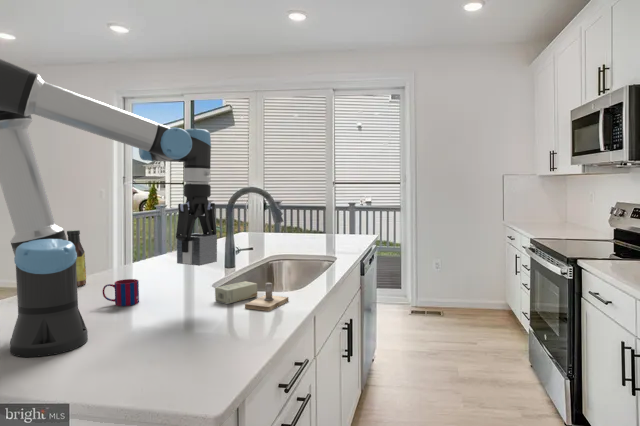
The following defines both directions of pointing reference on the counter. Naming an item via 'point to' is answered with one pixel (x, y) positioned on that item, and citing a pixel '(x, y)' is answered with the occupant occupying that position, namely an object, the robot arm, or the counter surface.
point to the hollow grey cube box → (200, 249)
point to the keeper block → (267, 300)
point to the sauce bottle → (78, 256)
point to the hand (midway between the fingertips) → (197, 261)
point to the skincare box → (235, 292)
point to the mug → (125, 292)
